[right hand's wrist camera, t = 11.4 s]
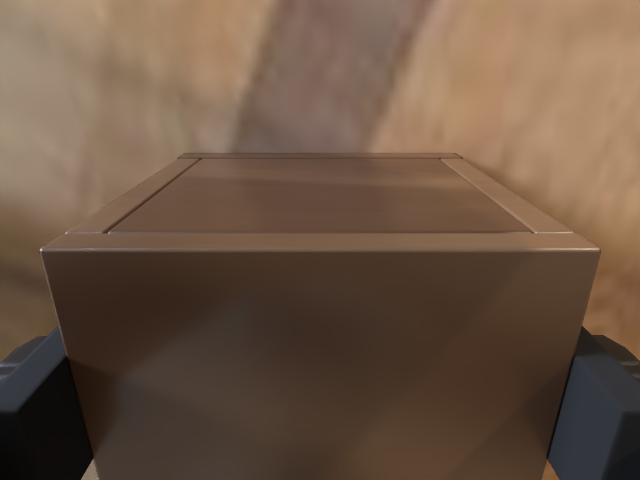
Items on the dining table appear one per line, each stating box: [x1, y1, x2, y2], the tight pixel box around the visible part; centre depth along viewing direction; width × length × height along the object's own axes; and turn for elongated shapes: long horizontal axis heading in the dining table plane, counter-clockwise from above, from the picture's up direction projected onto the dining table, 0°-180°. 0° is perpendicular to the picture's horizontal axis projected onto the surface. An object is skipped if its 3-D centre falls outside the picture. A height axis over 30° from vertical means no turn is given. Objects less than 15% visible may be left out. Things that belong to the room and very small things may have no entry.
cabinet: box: [39, 153, 601, 480], centre depth 15 cm, size 17×10×9 cm, turn 0°
